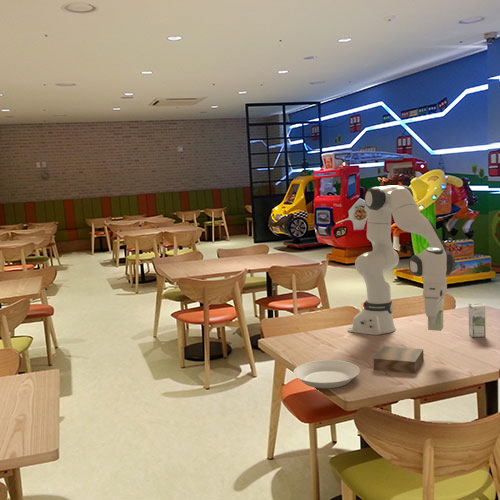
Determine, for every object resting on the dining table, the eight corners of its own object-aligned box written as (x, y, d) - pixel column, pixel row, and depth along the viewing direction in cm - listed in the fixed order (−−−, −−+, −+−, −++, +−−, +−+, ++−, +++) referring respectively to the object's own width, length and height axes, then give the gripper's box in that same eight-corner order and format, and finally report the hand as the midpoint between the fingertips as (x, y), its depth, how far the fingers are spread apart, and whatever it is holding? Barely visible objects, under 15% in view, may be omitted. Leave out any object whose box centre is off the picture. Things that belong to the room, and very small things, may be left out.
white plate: (317, 365, 237) (316, 356, 236) (372, 374, 221) (371, 365, 220) (280, 384, 218) (280, 375, 217) (338, 397, 202) (337, 387, 201)
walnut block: (373, 370, 226) (373, 358, 225) (384, 358, 240) (383, 346, 239) (415, 374, 218) (415, 361, 218) (423, 361, 232) (423, 349, 232)
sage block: (428, 329, 230) (427, 312, 229) (430, 326, 235) (430, 309, 234) (441, 330, 228) (440, 313, 227) (443, 327, 232) (443, 310, 231)
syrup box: (482, 333, 261) (481, 302, 260) (486, 337, 256) (485, 305, 254) (469, 334, 262) (468, 303, 260) (472, 337, 256) (471, 306, 254)
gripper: (431, 282, 239) (432, 315, 241) (421, 293, 221) (422, 328, 224) (447, 283, 236) (448, 316, 238) (438, 294, 219) (439, 329, 221)
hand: (435, 322), depth 231 cm, fingers closed on sage block, 5 cm apart
